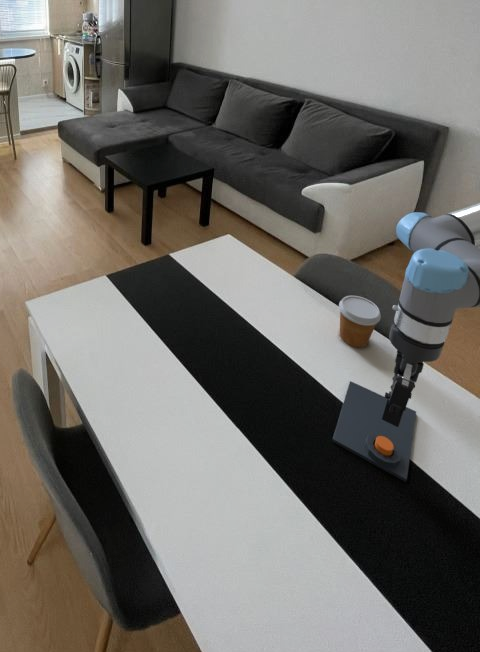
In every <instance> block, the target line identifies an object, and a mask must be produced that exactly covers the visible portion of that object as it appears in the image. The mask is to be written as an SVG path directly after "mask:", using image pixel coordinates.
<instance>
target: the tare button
mask: <svg viewBox="0 0 480 652" xmlns="http://www.w3.org/2000/svg"><path fill="white" fill-rule="evenodd" d="M375 448H376V450H377V451H378V452H379V453H381V454H382V455H384V456H390V455H391V454H392V452H393V449H394V446H393V443H392V442H391V441H390V440H389V439H388V438H386V437H383V436H378V437H377V438H376V441H375Z"/></svg>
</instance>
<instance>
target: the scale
mask: <svg viewBox="0 0 480 652" xmlns="http://www.w3.org/2000/svg"><path fill="white" fill-rule="evenodd" d="M345 393H346V394H345V396H344V399H343V403H342V406H341V410H340V413H339V417H338V420H337V423H336V426H335V430H334V433H333V437H332V440H331V441H332V443H334V444H336V445H338V446H340V447H342V448H343V449H345V450H347V451H349V452H350V453H352V454H353V455H356V456H357V457H359V458H361V459H363V460H365V461H366V462H368V463H370V464H372V465H374V466H376V467H377V468H379V469H381V470H383V471H384V472H386V473H389V474H390V475H392V476H394V477H396V478H398V479H399V480H400V481H403V482H405V483H407V480H408V477H409V476H408V475H409V468H410V460H411V453H412V447H413V439H414V431H415V424H416V417H417V411H416V410H414V409H411V408H410V407H407V406H406V410H405V411H403V414H402V417H401V420H400V423H399V427H396V426H394V425H392V424H390V423H388V422H386V421H384V420H382V416H383V412H384V409H385V405H386V402H387V398H385V395H381V394H379V393H377V392H375V391H373V390H371V389H369V388H367V387H365V386H362V385H360V384H358V383H356V382H353V381H352V380H350V381H349V383H348V387H347V390H346V392H345ZM378 436H383V437H386V438H388V439H389V440H390V441H391V442H392V443H393V446H394V449H393V452H392V454H391V455H390V456H384V455H382V454H381V453H379V452H378V451H377V450H376V448H375V441H376V438H377V437H378Z"/></svg>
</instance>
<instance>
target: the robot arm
mask: <svg viewBox="0 0 480 652" xmlns="http://www.w3.org/2000/svg"><path fill="white" fill-rule="evenodd" d="M395 231H396V232H395V233H396V236H397V238H398V240H400V241H401V242H402V244H403V245H404V246H406V247H407V249H409V250H410V251H411V252H412V253H413V254H412V255H411V258H410V260H409V263H408V265H407V267H406V269H405V272H404V279H403V283H402V287H401V291H400V295H399V299H398V302H397V304H393V305H392V310H393V311H395V314H394V318H393V320H392V322H391V326H390V330H389V334H388V338H389V342H390V343H391V345H392V347H394V348H395V349H396V355H395V360H394V362H395V365H394V368H393V369H394V370H393V373H394V374H393V376H392V384H391V385H390V390H389V392H387V391H385V393H384V397H385V398H387V402H386V405H385V409H384V412H383V416H382V420H384V421H386V422H388V423H390V424H392V425H394V426H396V427H399V423H400V420H401V417H402V414H403V411H405V410H406V407H407V405H408V402H409V401H410V399H412V397H413V396H412V395H413V393H412V392H413V390H414V389H415V388H416V384H415V383H417V381H418V378H419V375H420V374H421V373H422V371H423V369H424V364H425V363H430V362H436V361H437V360H438V359H439V358H440V357H441V355H442V351H443V349H444V346H445V342H446V340H447V338H448V335H449V333H450V329H451V326H452V325H453V324H452V323H453V319H454V316H455V314H456V312H457V310H458V309H468V308H480V202H478V203H475V204H471V205H469V206H466V207H463V208H460V209H457V210H454V211H451V212H448V213H446V214H442V215H439V216H436V217H433V216H432V215H430V214H427V213H426V212H422V211H421V212H419V211H418V212H417V211H414V212H411V213H408V214H406V215H404V216H403V217H402V218H401V219H400V220H399V221H398V223H397V224H396V228H395Z"/></svg>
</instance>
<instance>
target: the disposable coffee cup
mask: <svg viewBox="0 0 480 652" xmlns="http://www.w3.org/2000/svg"><path fill="white" fill-rule="evenodd" d="M338 308H339V311H340V312H339V337H340V339H341V340H342V341H343V342H344V343H345V344H347V345H349V346H351V347H354V348H364V347H366V346H367V345H368V343H369V340H370V339H371V337H372V335H373V332H374V330H375V328H376V326H377V324H378V323H379V322H380V321H381V319H382V314H381V312H380V308H379V307H378V305H377V304H376V303H374V302H373V301H372V300H370V299H368V298H366V297H363V296H359V295H346V296H344V297H343V298H342V299H341V300H340V301H339V303H338Z"/></svg>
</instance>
